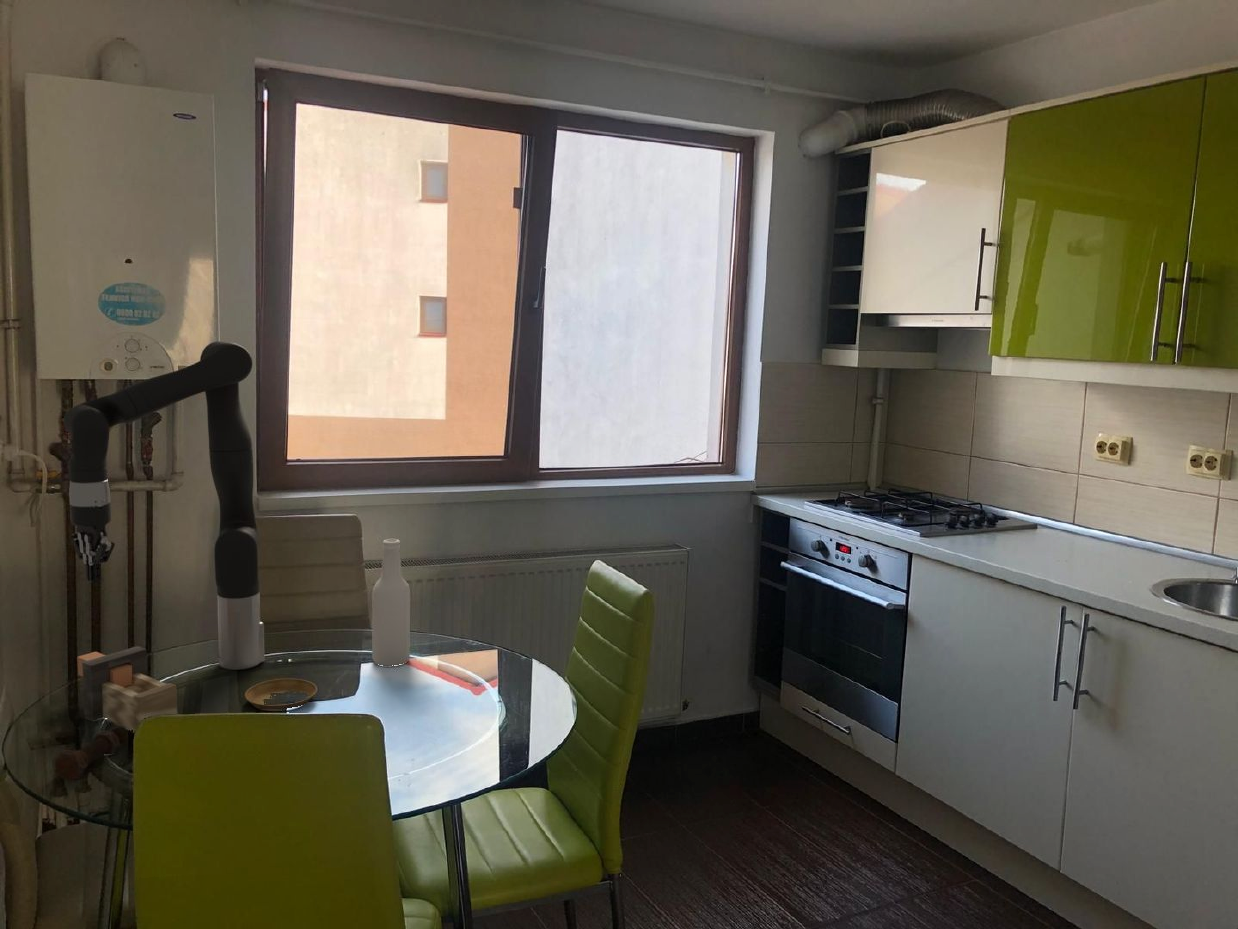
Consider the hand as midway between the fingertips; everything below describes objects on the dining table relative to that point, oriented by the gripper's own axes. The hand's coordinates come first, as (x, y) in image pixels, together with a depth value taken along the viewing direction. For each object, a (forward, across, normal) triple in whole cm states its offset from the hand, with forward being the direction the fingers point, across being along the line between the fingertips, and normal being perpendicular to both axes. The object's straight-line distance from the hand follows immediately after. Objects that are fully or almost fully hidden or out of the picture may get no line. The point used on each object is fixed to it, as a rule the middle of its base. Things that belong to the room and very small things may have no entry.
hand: (94, 580), depth 213 cm
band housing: (+25, +18, -3) cm, 31 cm away
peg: (+19, +8, -3) cm, 21 cm away
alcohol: (+25, +36, +52) cm, 68 cm away
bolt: (+26, +29, -18) cm, 42 cm away
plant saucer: (+26, +34, +20) cm, 47 cm away
